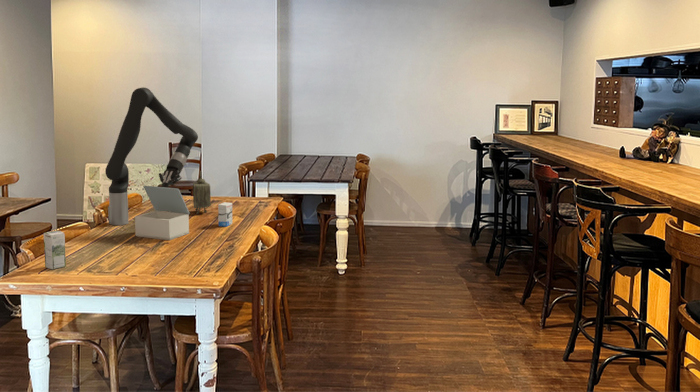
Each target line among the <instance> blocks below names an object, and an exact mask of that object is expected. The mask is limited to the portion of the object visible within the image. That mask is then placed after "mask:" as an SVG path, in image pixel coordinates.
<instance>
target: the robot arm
mask: <svg viewBox="0 0 700 392" xmlns="http://www.w3.org/2000/svg"><path fill="white" fill-rule="evenodd" d="M146 108H147V109H149V110H150V111H151V112H152V113H153V114H155V115H156V116H157V118H158V120H159V121H160V122H161V123H162V124H163V126H165V127H166V128H167V129H168V130H169V131H170V132H172V134H174V135H178V134H179V135H181V138H180V140H179V143H178V145H177V147H176V148H175V151H174V153H173V154H172V155H171V157H170V159H169V161H168V163H167V165H166V169H165V170H164V171H163V173H161V172H160V173H158V178H159V180H160V182H161V184H162V185H161V186H160V187H166V188H169V186H171V185H172V186H173V185H175V184H176V183H177V182H179V181H181V180H182V176H181V172H182V170H183V169H184V166H185V165H186V163H187V160H188V158H189V156H190V153H191V150H192V148H193V146H194V145H195V144H196V142H197V141H198V138H199V135H198V132H196V130H194V129H193V128H191V127H190V126H188V125H187V124H184V123H183V122H181V120H179V118H177V117H176V116H175V115H174V114H173V113H172V112H171V111H169V110H168V109H167V107H165V106H164V104H162V103H161V102H160V100H159V99H158V98H157V96H156V95H155V94H154V93H153V92H152V90H150V89H149V88H148V87H144V86H143V87H138V88H136V89H134V90H133V92H132V94H131V96H130V102H129V105H128V109H127V112H126V115H125V117H124V121H123V122H122V124H121V127H120V131H119V133H118V137H117V140H116V142H115V145H114V148H113V149H114V150H113V151H112V154H111V157H110V158H109V160H108V162H107V165H106V167H105V176H106V177H107V179H108V180H110V181H111V184H110V185H109V186H108V201H109V205H108V206H107V212H108V213H107V214H108V216H107V217H108V224H109V225H113V226H124V225H128V224H129V199H128V188H129V181H130V179H129V178H130V177H129V167H128V165H127V164H126V163H125V162H126V159H127V157H128V155H129V154H130V153H131V151H132V150H133V148H134V147H135V145H136V143H137V141H138V138H139V134H140V132H141V126H142V125H141V123H142V117H143V114H144V112H145V110H146Z"/></svg>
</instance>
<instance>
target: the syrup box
mask: <svg viewBox="0 0 700 392" xmlns="http://www.w3.org/2000/svg"><path fill="white" fill-rule="evenodd" d="M65 235H66V234H65V232H63V231H61V230H53V231H47V232H43V250H44V251H43V252H44V267H45V268H47V269H50V270H57V269H60V268H62V269H63V268H65V267H67V265H66V263H67V262H66V259H67V258H66V239H65V237H66V236H65Z"/></svg>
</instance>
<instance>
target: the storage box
mask: <svg viewBox="0 0 700 392" xmlns="http://www.w3.org/2000/svg"><path fill="white" fill-rule="evenodd" d="M189 215H190V214H184V213H174V212H165V211H156V210H154V211H149V212H146V213H143V214H139V215H135V216H134V223H135V225H134V226H135V227H134V228H135V237H139V238H146V239H148V238H149V239H155V240H163V241H171V240H175V239H178V238H180V237H183V236H186V235H188V234H190V221H189V219H190V216H189Z"/></svg>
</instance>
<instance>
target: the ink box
mask: <svg viewBox="0 0 700 392" xmlns="http://www.w3.org/2000/svg"><path fill="white" fill-rule="evenodd" d="M217 206H218V207H217V209H218V212H217V213H218V217H217V219H218V227H223V228H225V227H228V226H231V225H233V202H225V201H224V202H222V203H218V205H217Z"/></svg>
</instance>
